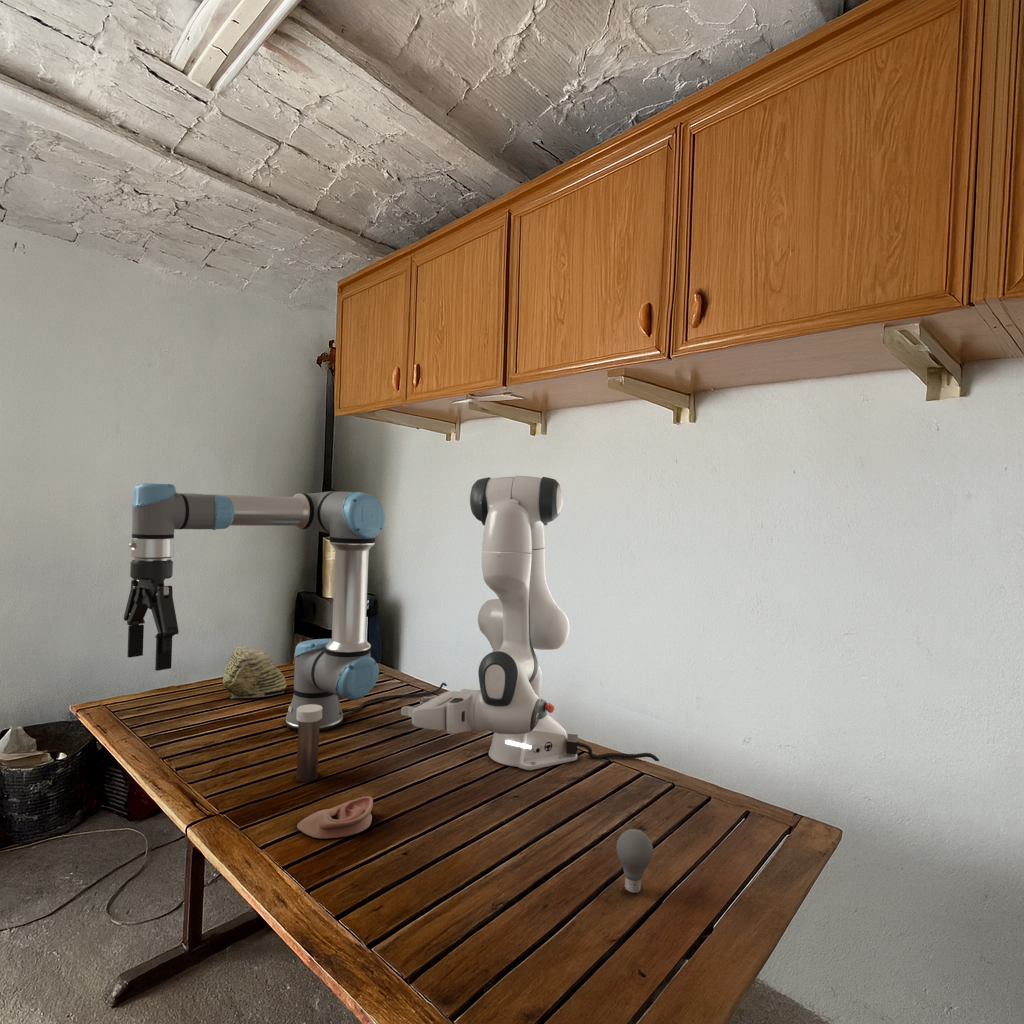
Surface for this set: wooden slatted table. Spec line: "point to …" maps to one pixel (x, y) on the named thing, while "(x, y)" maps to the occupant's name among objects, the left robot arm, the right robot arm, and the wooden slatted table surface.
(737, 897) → the wooden slatted table surface
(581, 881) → the wooden slatted table surface
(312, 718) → the lid
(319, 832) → the anatomical model
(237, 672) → the fossil
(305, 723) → the metal cylinder
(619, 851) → the light bulb
